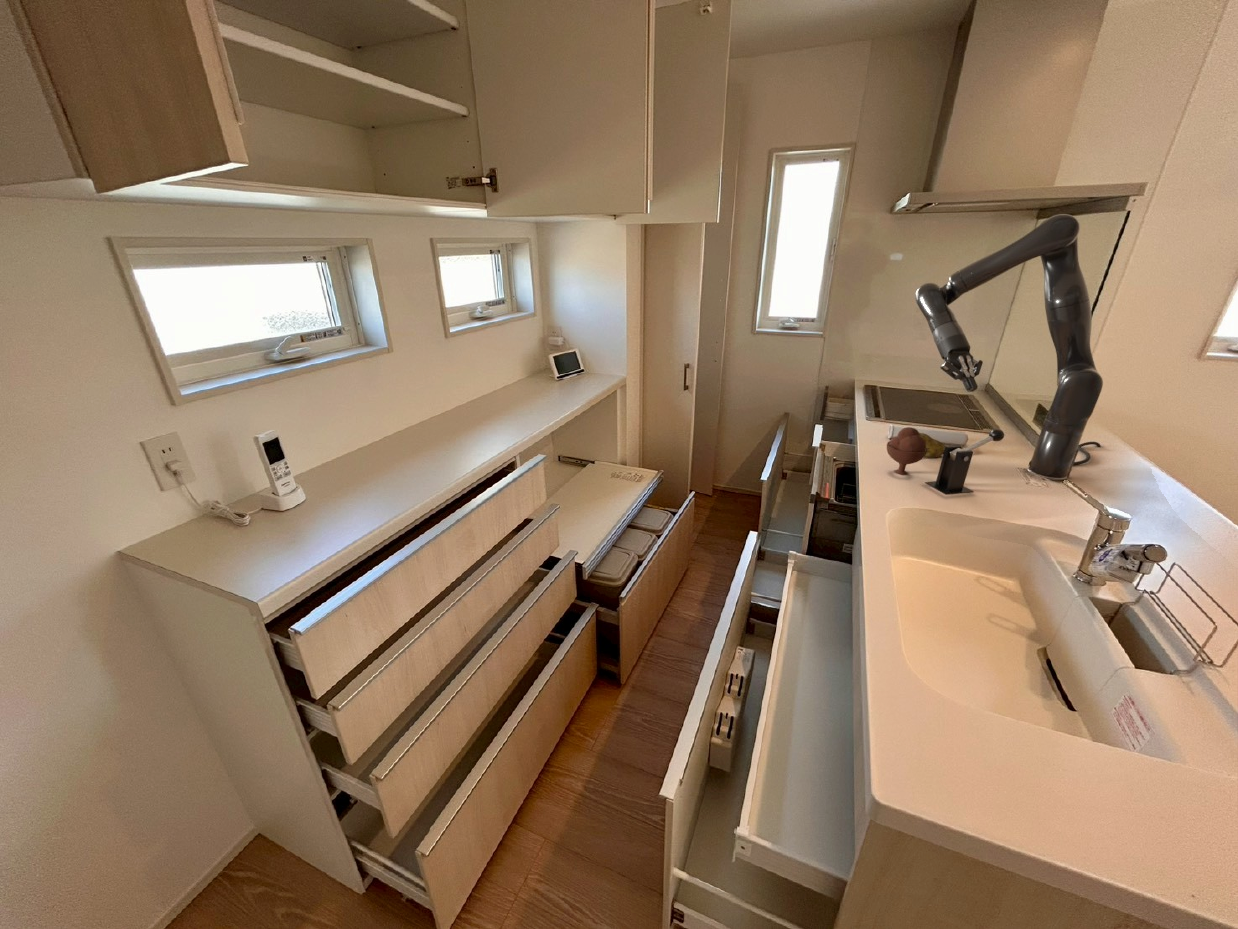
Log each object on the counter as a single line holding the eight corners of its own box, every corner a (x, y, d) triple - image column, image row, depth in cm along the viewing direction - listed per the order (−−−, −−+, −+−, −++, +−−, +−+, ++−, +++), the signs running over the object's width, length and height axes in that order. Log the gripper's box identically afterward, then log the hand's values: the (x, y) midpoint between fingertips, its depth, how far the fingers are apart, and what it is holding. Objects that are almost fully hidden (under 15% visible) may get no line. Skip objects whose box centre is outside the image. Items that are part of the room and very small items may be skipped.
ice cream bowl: (872, 471, 155) (882, 425, 150) (899, 466, 159) (909, 421, 153) (901, 484, 146) (912, 436, 140) (928, 479, 150) (941, 432, 144)
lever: (997, 435, 140) (996, 425, 139) (1008, 439, 137) (1006, 429, 136) (949, 459, 141) (947, 450, 139) (958, 464, 138) (957, 454, 136)
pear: (949, 462, 162) (955, 439, 159) (904, 458, 166) (910, 435, 163) (942, 453, 169) (948, 431, 166) (900, 449, 173) (905, 427, 170)
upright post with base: (950, 483, 147) (961, 442, 142) (972, 495, 140) (985, 452, 135) (923, 485, 145) (934, 444, 141) (944, 497, 138) (956, 455, 133)
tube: (966, 432, 178) (889, 424, 185) (972, 432, 172) (892, 424, 180) (964, 447, 178) (887, 438, 186) (969, 447, 173) (889, 438, 181)
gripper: (940, 333, 146) (962, 384, 139) (979, 332, 148) (1003, 382, 141) (922, 349, 152) (943, 398, 146) (960, 347, 155) (982, 395, 148)
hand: (972, 390), depth 144 cm, fingers closed
